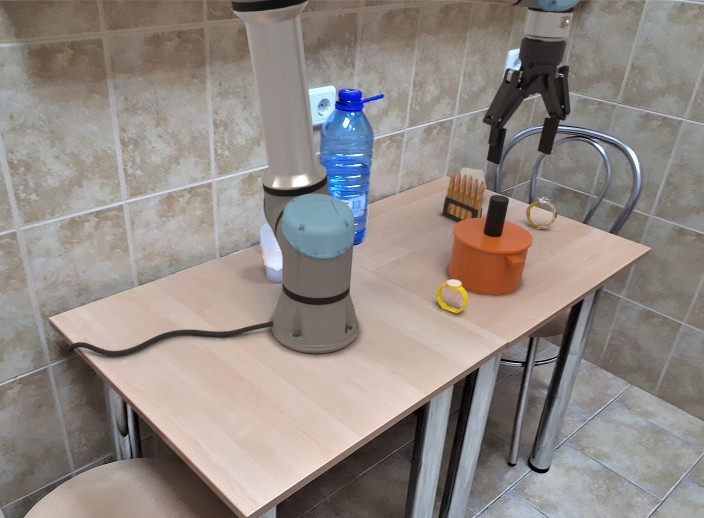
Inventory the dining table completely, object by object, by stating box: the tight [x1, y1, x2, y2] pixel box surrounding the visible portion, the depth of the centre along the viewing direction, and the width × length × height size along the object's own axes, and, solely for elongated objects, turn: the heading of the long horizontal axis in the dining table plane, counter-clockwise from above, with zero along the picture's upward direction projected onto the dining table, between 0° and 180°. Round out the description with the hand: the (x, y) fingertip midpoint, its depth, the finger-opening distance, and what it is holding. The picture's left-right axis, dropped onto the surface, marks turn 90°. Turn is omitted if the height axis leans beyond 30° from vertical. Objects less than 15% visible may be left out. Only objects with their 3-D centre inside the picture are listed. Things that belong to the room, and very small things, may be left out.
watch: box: [436, 279, 469, 315], centre depth 115 cm, size 6×3×6 cm, turn 49°
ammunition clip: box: [441, 169, 485, 223], centre depth 149 cm, size 11×2×12 cm, turn 38°
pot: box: [447, 235, 529, 296], centre depth 126 cm, size 15×20×10 cm
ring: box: [525, 196, 558, 230], centre depth 148 cm, size 7×3×8 cm, turn 50°
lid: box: [452, 194, 534, 254], centre depth 121 cm, size 16×16×9 cm
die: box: [455, 166, 487, 194], centre depth 163 cm, size 8×9×10 cm
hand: (519, 157), depth 117 cm, fingers open, 13 cm apart
